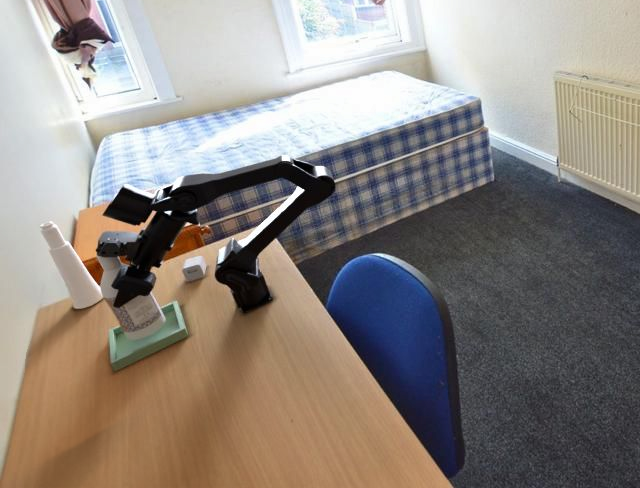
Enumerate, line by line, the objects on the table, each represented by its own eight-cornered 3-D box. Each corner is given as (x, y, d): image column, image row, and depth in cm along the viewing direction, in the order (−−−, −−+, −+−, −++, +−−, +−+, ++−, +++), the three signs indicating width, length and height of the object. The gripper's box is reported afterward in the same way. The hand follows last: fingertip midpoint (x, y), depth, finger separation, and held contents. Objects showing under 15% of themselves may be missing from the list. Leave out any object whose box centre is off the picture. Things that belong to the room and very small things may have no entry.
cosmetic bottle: (73, 313, 110) (26, 234, 101) (74, 300, 114) (30, 224, 106) (105, 300, 113) (62, 223, 105) (105, 288, 118) (64, 213, 109)
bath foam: (129, 327, 101) (85, 251, 93) (166, 312, 104) (127, 237, 96) (126, 347, 95) (79, 268, 87) (166, 330, 99) (124, 252, 91)
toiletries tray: (179, 307, 109) (176, 300, 108) (188, 336, 100) (184, 328, 99) (112, 337, 101) (108, 330, 100) (115, 371, 92) (110, 363, 91)
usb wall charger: (187, 282, 117) (181, 269, 116) (191, 267, 123) (185, 254, 122) (205, 276, 119) (199, 263, 117) (208, 262, 125) (203, 249, 123)
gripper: (126, 198, 98) (86, 260, 99) (102, 241, 83) (54, 314, 83) (184, 218, 105) (146, 275, 105) (171, 261, 89) (127, 329, 89)
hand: (120, 296), depth 95 cm, fingers closed on bath foam, 7 cm apart
